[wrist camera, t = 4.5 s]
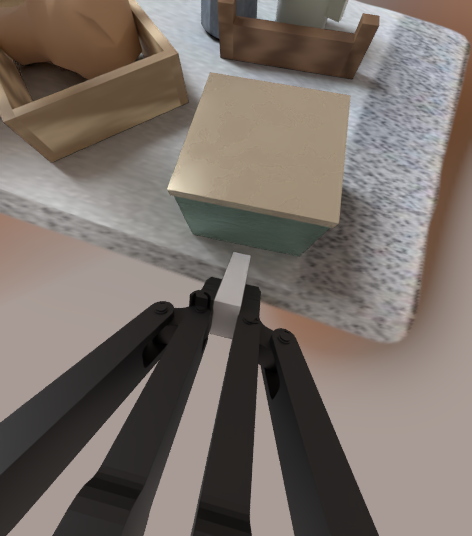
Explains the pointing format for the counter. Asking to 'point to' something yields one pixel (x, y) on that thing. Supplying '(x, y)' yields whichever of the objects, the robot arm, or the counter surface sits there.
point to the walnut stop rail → (293, 43)
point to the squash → (71, 34)
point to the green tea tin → (263, 164)
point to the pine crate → (95, 96)
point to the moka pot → (209, 13)
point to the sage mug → (310, 12)
